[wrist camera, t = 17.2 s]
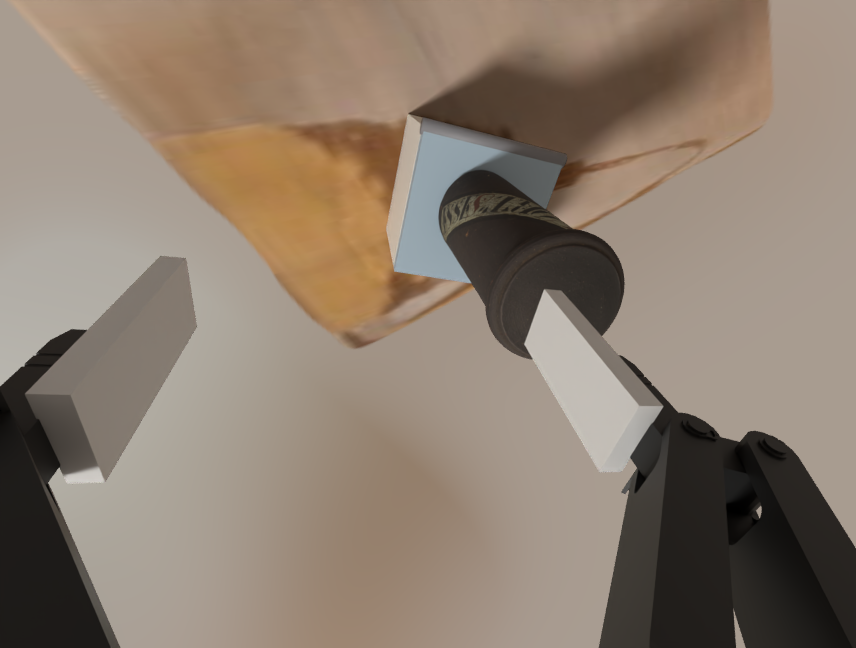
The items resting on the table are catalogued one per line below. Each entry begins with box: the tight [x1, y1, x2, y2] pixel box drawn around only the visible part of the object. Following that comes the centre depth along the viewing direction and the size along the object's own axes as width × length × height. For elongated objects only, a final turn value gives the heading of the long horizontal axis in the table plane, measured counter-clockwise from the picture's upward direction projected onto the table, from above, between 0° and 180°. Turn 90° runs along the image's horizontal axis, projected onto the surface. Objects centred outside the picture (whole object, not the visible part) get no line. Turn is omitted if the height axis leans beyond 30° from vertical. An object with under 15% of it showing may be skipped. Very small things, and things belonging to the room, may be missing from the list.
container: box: [438, 170, 624, 359], centre depth 32 cm, size 9×9×20 cm
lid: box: [394, 117, 567, 283], centre depth 41 cm, size 15×14×1 cm
